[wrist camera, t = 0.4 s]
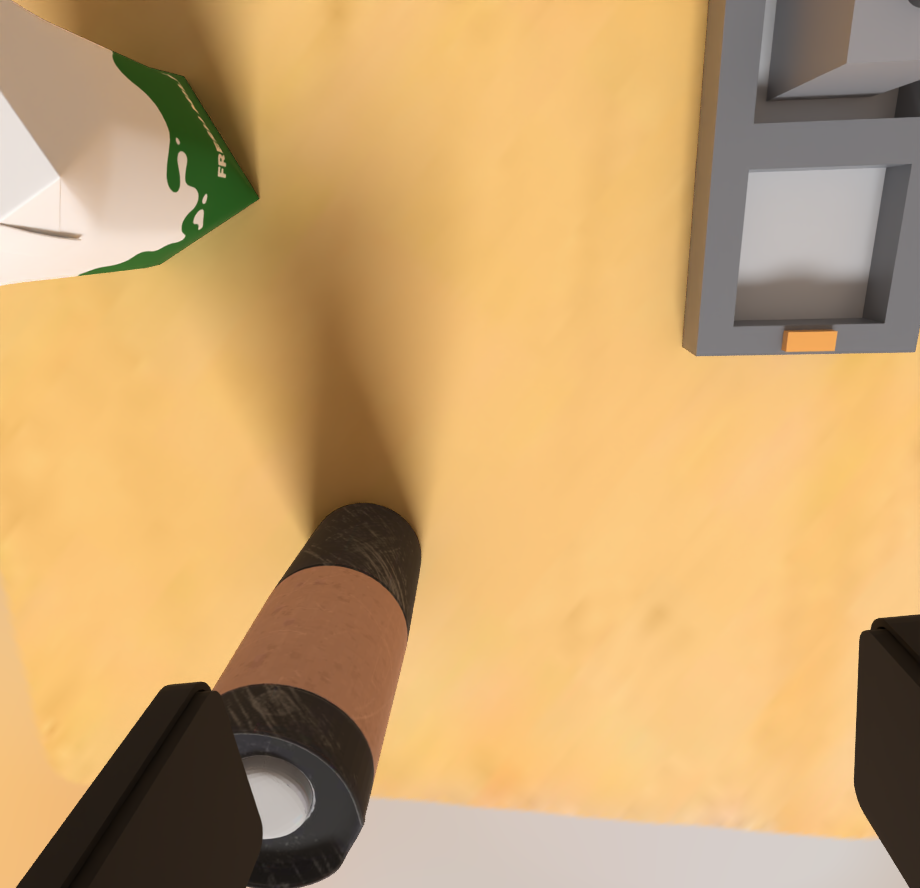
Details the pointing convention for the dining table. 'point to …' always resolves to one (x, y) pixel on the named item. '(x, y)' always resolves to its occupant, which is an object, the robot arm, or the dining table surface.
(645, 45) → the dining table surface
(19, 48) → the milk carton
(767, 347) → the pdu strip
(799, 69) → the single plug
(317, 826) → the travel mug
